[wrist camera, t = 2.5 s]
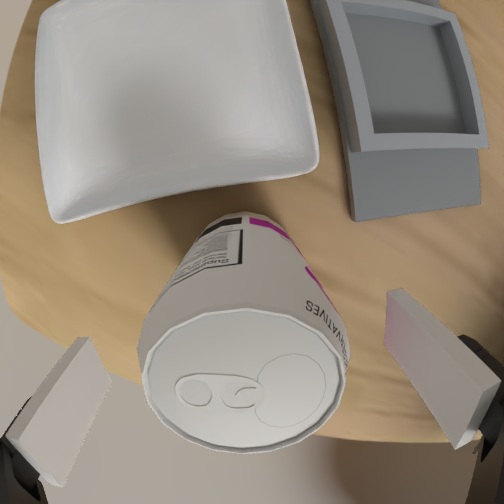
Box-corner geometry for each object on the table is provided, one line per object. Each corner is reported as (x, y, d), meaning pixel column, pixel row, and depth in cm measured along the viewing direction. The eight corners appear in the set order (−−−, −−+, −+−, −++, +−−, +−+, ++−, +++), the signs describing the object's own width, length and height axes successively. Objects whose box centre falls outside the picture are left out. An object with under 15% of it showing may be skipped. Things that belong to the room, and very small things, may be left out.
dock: (474, 202, 22) (494, 207, 19) (351, 219, 23) (365, 227, 20) (424, -16, 16) (438, -27, 13) (297, -34, 16) (302, -52, 13)
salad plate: (70, 221, 23) (48, 229, 19) (54, 21, 17) (37, 10, 13) (314, 172, 22) (325, 173, 19) (266, -40, 16) (269, -61, 13)
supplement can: (299, 212, 22) (386, 288, 8) (290, 309, 25) (333, 456, 10) (192, 208, 22) (106, 279, 8) (194, 306, 24) (148, 452, 10)
